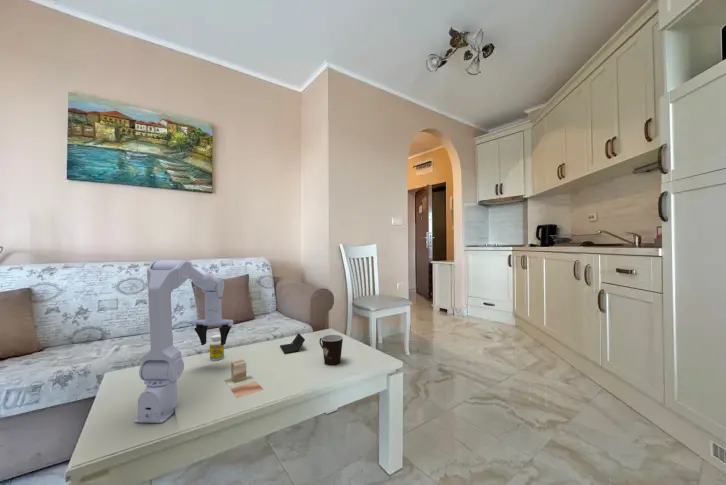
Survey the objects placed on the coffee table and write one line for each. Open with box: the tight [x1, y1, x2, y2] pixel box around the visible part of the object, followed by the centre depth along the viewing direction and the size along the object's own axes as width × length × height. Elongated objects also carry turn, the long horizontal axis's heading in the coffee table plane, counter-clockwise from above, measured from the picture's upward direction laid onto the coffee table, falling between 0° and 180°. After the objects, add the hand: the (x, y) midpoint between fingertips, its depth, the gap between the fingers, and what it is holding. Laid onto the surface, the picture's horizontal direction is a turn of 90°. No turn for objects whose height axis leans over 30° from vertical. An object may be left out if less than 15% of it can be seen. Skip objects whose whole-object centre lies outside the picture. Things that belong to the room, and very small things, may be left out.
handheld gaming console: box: [279, 332, 306, 355], centre depth 138 cm, size 12×7×10 cm
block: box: [230, 358, 247, 383], centre depth 105 cm, size 4×4×6 cm
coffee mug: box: [319, 334, 344, 367], centre depth 124 cm, size 12×9×10 cm
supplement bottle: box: [209, 334, 225, 362], centre depth 127 cm, size 5×5×10 cm
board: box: [223, 371, 264, 399], centre depth 102 cm, size 18×10×1 cm, turn 38°
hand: (213, 344), depth 115 cm, fingers open, 7 cm apart
